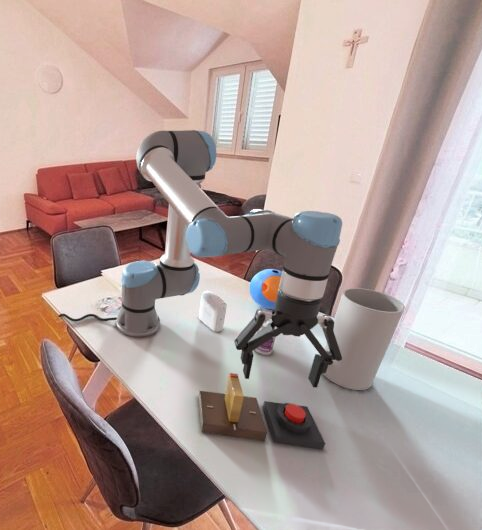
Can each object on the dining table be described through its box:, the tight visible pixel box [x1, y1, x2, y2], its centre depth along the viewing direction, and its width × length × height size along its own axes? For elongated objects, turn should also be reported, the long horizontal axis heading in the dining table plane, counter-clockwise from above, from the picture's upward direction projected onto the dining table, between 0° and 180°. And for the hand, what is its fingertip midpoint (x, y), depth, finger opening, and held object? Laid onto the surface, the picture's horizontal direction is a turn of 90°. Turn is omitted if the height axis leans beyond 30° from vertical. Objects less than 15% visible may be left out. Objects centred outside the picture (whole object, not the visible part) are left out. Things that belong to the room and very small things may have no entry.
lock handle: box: [224, 372, 245, 422], centre depth 74 cm, size 7×2×8 cm, turn 170°
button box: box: [262, 400, 326, 451], centre depth 73 cm, size 10×10×4 cm
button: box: [285, 403, 306, 424], centre depth 72 cm, size 4×4×2 cm
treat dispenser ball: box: [249, 268, 283, 310], centre depth 122 cm, size 16×15×15 cm
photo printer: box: [198, 290, 228, 333], centre depth 111 cm, size 10×4×12 cm, turn 23°
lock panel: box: [197, 390, 268, 442], centre depth 76 cm, size 14×11×3 cm
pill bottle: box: [254, 320, 276, 356], centre depth 98 cm, size 5×5×10 cm
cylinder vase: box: [322, 287, 406, 391], centre depth 85 cm, size 12×12×25 cm
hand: (278, 378), depth 69 cm, fingers open, 13 cm apart
